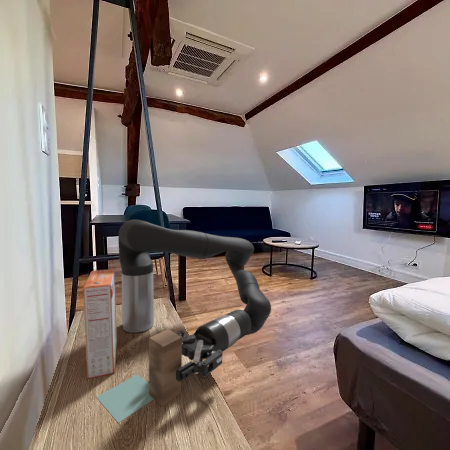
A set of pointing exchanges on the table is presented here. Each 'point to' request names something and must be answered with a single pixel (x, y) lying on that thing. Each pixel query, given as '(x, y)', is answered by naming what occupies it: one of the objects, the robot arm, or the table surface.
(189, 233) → the robot arm
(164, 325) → the table surface
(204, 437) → the table surface
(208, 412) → the table surface
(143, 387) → the felt mat
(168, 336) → the walnut block
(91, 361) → the cracker box
